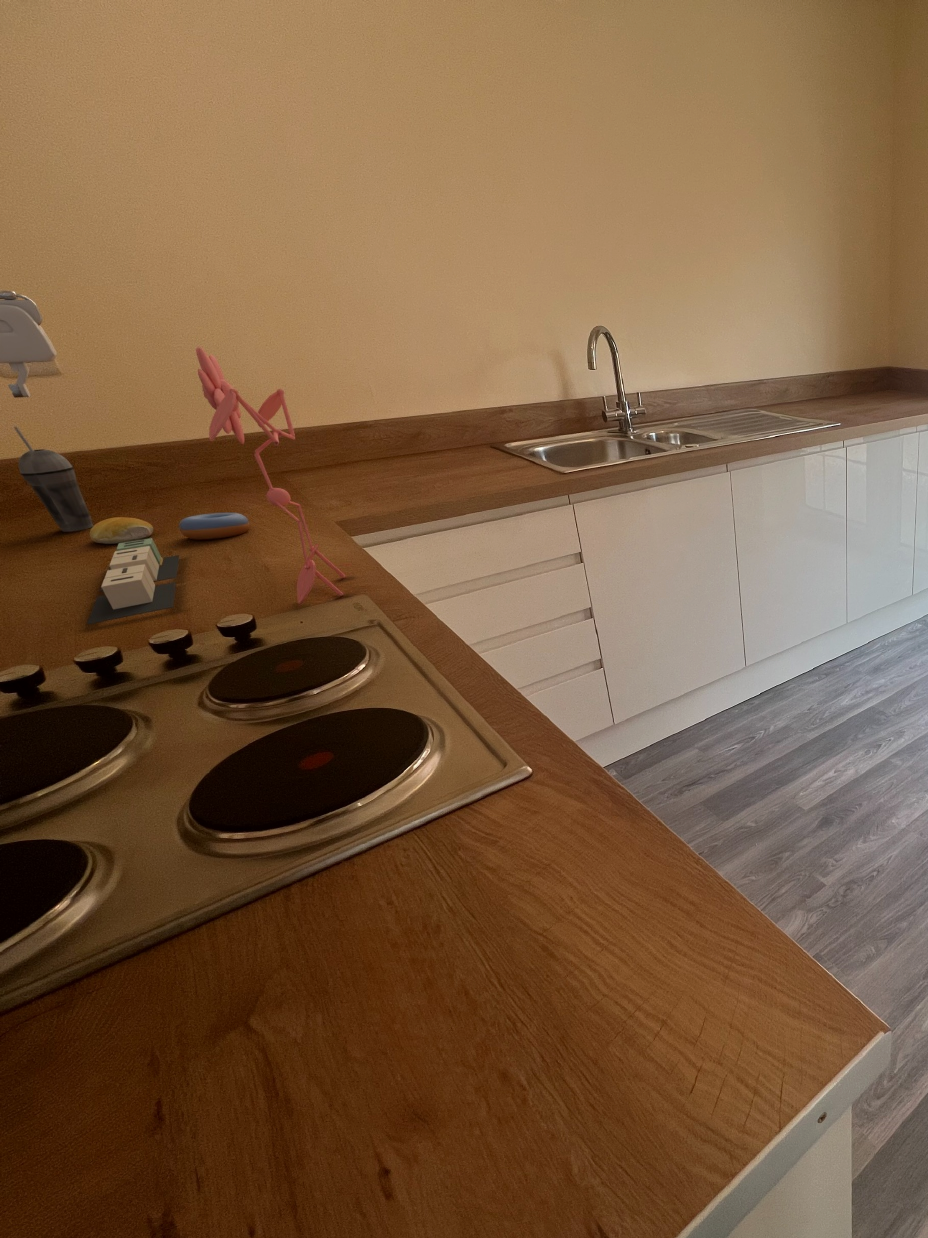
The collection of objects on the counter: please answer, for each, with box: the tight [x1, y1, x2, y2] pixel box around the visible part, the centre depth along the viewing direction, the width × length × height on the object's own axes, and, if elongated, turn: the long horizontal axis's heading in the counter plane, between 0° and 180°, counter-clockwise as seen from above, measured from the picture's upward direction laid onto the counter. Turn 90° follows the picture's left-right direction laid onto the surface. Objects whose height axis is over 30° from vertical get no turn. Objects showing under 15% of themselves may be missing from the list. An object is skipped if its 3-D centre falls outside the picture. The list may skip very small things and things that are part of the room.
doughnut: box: [178, 512, 250, 541], centre depth 132 cm, size 10×10×5 cm
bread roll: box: [89, 516, 154, 545], centre depth 132 cm, size 8×9×4 cm
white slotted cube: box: [104, 564, 156, 593], centre depth 105 cm, size 4×4×4 cm
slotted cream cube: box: [108, 553, 158, 582], centre depth 110 cm, size 4×4×4 cm
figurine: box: [195, 346, 353, 604], centre depth 98 cm, size 15×26×35 cm, turn 32°
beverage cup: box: [13, 426, 94, 533], centre depth 135 cm, size 7×7×20 cm
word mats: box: [85, 554, 180, 625], centre depth 109 cm, size 9×31×1 cm, turn 40°
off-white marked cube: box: [112, 546, 159, 573], centre depth 113 cm, size 4×4×4 cm
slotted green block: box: [116, 537, 162, 564], centre depth 117 cm, size 4×4×4 cm
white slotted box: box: [100, 572, 154, 609], centre depth 102 cm, size 4×4×4 cm
